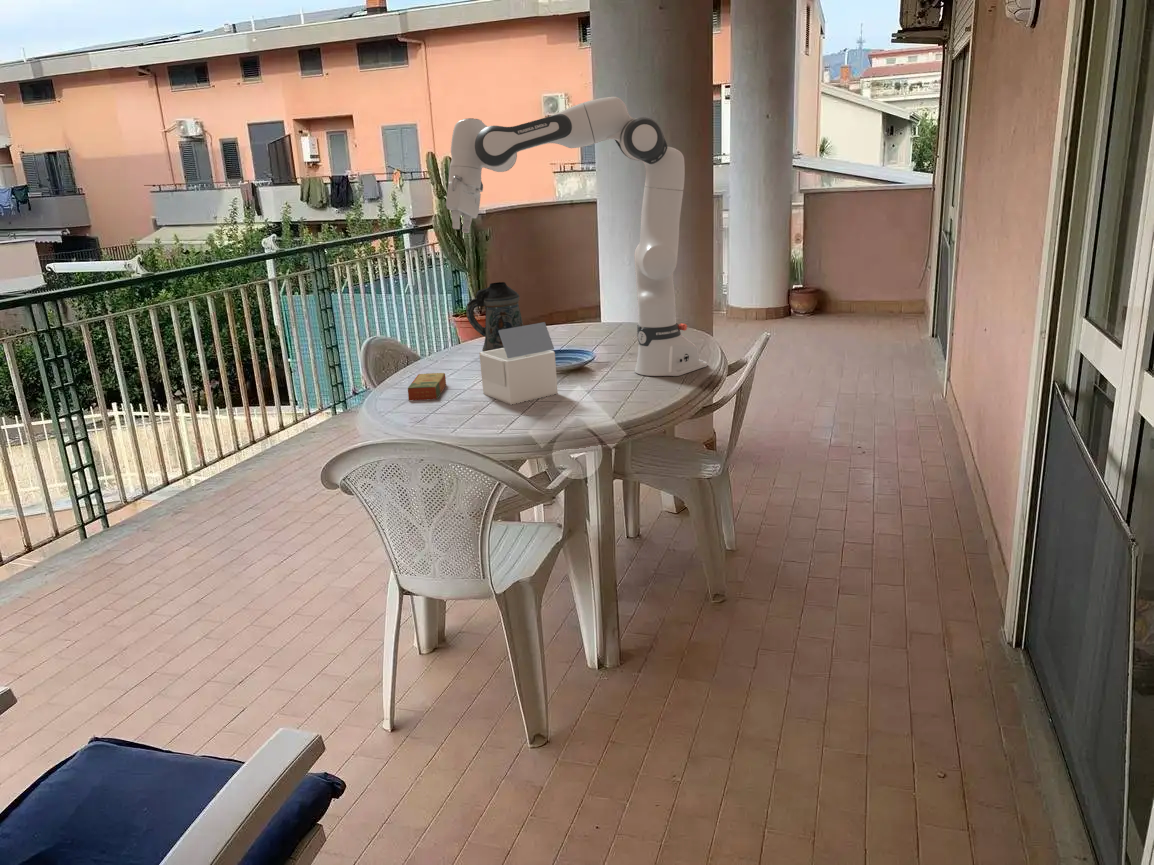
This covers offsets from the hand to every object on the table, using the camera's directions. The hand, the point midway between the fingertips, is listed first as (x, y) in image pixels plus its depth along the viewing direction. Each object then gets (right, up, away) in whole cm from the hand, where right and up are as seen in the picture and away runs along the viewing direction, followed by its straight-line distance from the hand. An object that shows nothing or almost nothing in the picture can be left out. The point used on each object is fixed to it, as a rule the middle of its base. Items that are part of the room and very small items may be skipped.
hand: (460, 230), depth 230 cm
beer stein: (+8, -31, +48) cm, 58 cm away
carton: (-11, -45, +10) cm, 48 cm away
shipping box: (+16, -46, +2) cm, 48 cm away
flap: (+19, -31, -8) cm, 37 cm away
